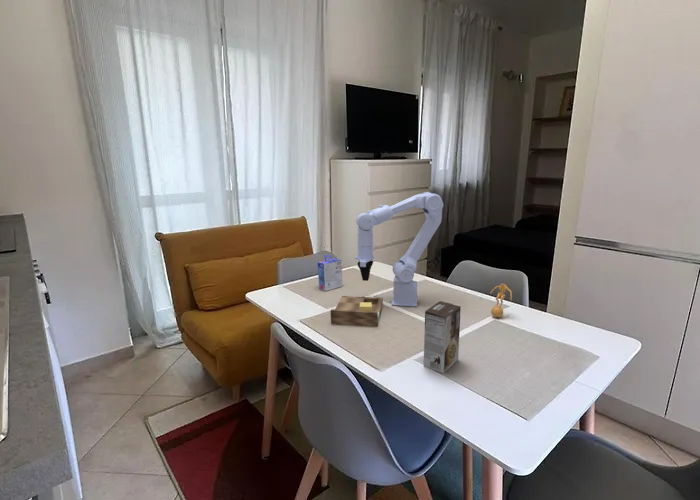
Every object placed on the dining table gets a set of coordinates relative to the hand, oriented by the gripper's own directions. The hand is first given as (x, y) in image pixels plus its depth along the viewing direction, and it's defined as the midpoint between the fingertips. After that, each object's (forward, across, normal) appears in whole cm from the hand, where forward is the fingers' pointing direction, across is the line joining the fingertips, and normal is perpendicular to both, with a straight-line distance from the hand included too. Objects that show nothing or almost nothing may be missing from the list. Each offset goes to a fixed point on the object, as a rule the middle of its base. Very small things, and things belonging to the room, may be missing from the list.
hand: (365, 280), depth 143 cm
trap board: (+10, +9, -2) cm, 13 cm away
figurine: (+10, +5, +48) cm, 49 cm away
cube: (+7, +16, +2) cm, 18 cm away
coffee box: (+10, +40, +26) cm, 49 cm away
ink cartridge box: (+10, -18, -18) cm, 27 cm away
